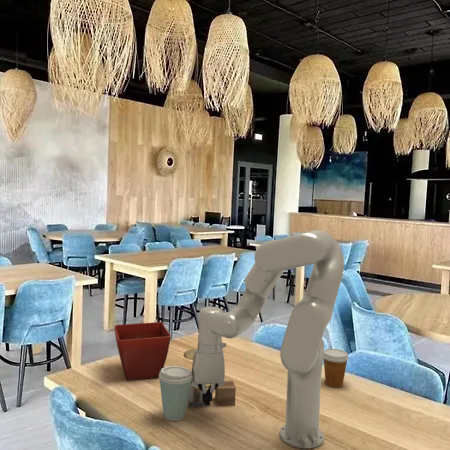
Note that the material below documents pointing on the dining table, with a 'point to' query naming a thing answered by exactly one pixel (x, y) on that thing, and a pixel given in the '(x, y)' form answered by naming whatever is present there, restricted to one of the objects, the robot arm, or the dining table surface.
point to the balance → (194, 392)
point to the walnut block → (225, 394)
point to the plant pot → (142, 349)
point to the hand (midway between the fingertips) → (206, 403)
